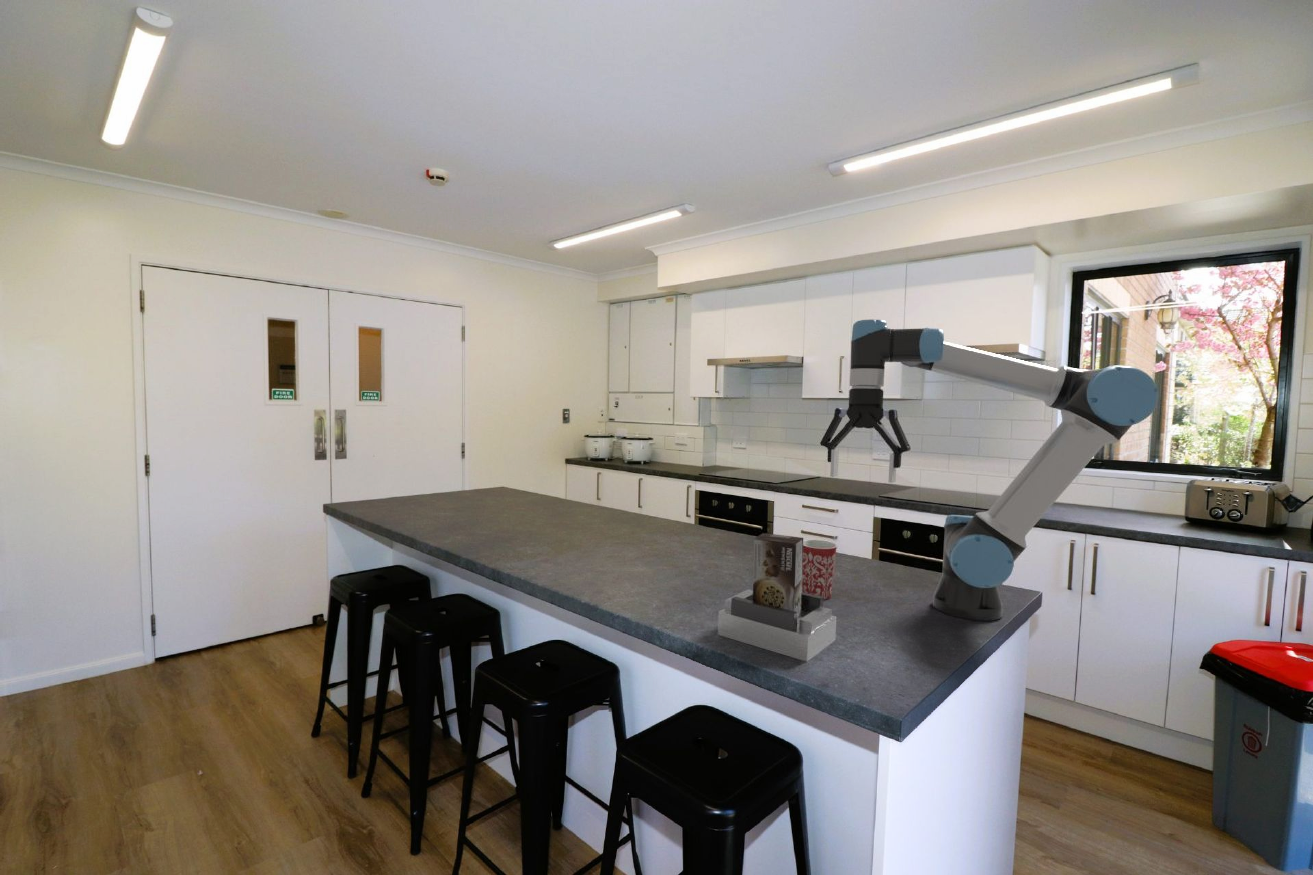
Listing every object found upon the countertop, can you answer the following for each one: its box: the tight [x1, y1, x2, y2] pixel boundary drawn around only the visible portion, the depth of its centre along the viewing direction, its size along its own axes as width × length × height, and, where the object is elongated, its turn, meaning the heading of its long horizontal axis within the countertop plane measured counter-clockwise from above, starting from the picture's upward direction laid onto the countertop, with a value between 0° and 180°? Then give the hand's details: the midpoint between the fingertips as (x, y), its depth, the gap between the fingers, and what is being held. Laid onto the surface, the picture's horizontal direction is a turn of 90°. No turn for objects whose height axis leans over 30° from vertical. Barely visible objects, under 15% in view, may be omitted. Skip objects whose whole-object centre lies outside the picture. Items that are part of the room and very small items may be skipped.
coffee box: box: [752, 532, 804, 618], centre depth 127 cm, size 9×6×16 cm
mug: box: [802, 539, 838, 601], centre depth 157 cm, size 13×9×14 cm
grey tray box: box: [717, 588, 837, 663], centre depth 128 cm, size 20×14×8 cm
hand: (862, 479), depth 143 cm, fingers open, 13 cm apart
